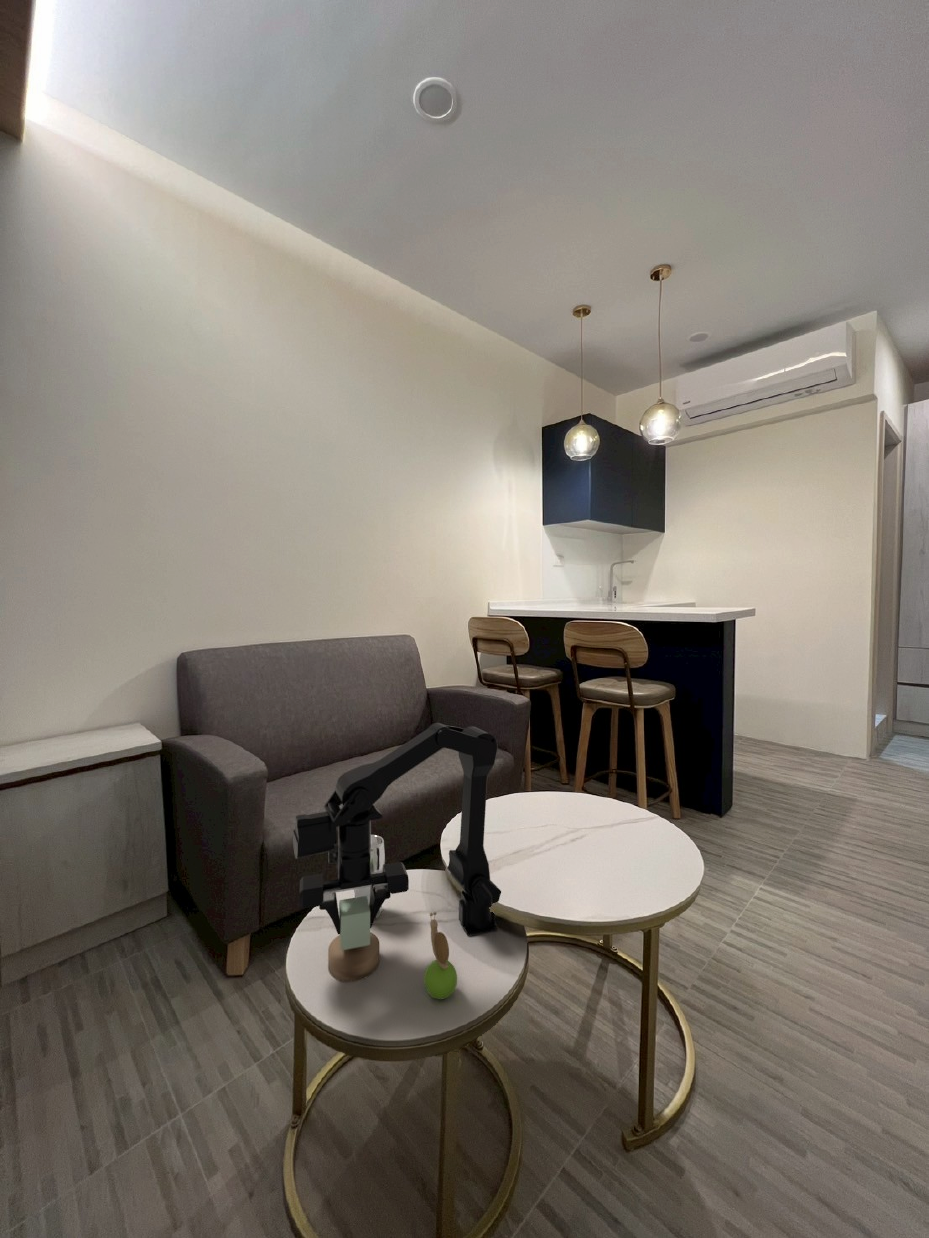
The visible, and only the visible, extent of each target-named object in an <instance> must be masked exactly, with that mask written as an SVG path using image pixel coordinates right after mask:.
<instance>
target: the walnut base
mask: <svg viewBox="0 0 929 1238" xmlns="http://www.w3.org/2000/svg"><path fill="white" fill-rule="evenodd" d="M327 950H328V951H327V954H328V955H327V957H328V958H327V961H328V962H327V964H328V965H327V969H328V972H329V974H330V975H331V977H333V978H334V979H336V980H337V981H341V982H348V983H349V982H357V981H360V980H363V979H364V980H365V978H367V977H369V976H371V975H372V974H373V973H374V972H376V970H377V968H378V967H379V963H380V940H379V938H378V936H377V935H376V934H374V933H373V932H371V931H370V945H367V946H362V947H357V948H352V949H346V950H341V946H340V935H339V934H338V936H336V937H335V938H334V939H332V941H331V942H330V943H329V946H328V948H327Z"/></svg>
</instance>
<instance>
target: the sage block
mask: <svg viewBox="0 0 929 1238" xmlns="http://www.w3.org/2000/svg"><path fill="white" fill-rule="evenodd" d="M338 902H339V903H338V912H339V919H340V934H338V936H339V935H340V946H341V950H346V949H352V948H357V947H362V946H367V945H370V932H371V929H370V908H369V903H368V898H367V896H362V897H356V898H355V897H351V898H344V899H339V900H338Z"/></svg>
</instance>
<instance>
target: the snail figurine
mask: <svg viewBox="0 0 929 1238" xmlns="http://www.w3.org/2000/svg"><path fill="white" fill-rule="evenodd" d="M436 915H437V912H436V911H433V912H430V913H429V916H430V917H433V916H434V919H430V923H429V925H430V939H431V946H432V952H433V955H434V957H435V960H433V961H432V962H431V963H430V964H429V965H428V966H427V968H426V970H425V973H424V977H423V978H424V979H423V981H424V986H425V989H426V991H427V993H428V994H429V995H430V996H431V998H434V999H436V1000H443V999H446V998H448V997H450V996H451V995H452V994H453V993H454V991H455V989H456V987H457V985H458V974H457V970H456V968H455V966H454V965H453V963H452V962H450V961H449V958H450V949H449V948H450V947H449V943H448V939H447V937H446V935H445V934H444V933H443V932H442V931H438V927H439V926H438V925H439V924H438V923H439V922H438V921H437V920H436Z"/></svg>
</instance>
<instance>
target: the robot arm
mask: <svg viewBox="0 0 929 1238" xmlns="http://www.w3.org/2000/svg"><path fill="white" fill-rule="evenodd" d="M498 747H499V746H498V741H497V739H496V738H495V737H494V736H493V735H492V734H490V733H489V732H487V731H484V730H482V729H481V728H478V727H476V726H474V725H473V726H472V725H471V726H467V727H465V728H462V727H460V726H459V727H458V726H453V725H446V724H443V723H441V722H435V723H431V725H429V726H428V728H426V730H424V731H421V733H419V734H417V735H416V736H415V737H413V738H412V739H410V740H408V741H407V742H405V743H404V744H402V745H401V746H399V747H398V748H396V749H394V750H392V751H391V752H389V753H388V754H386V755H385V756H383V757H382V758H380V759H378V760H377V761H375V762H371V763H366V764H362V765H359V766H357V767H355V768H353V769H350V770H348V771H346V772H343V774H341V775H340V776H339V777H338V779H337V781H336V785H335V789H334V791H333V792H332V794H331V796H330V797H329V799H328V800H327V801H326V803H325V804H324V806H323V808H324V810H325V811H321V812H317V813H316V812H315V813H310V814H306V813H305V814H297V815H296V816H295V822H294V827H293V830H292V846H293V852H294V854H293V855H294V858H295V859H296V860H298V859H302V858H307V857H311V856H317V855H321V854H327V855H328V860H327V861H328V864H329V865H333V864H336V875H337V879H331V880H325V881H324V876H323V875H324V874H323V873H316V874H310V875H304V876H302V877H301V878H300V880H299V908H300V909H303V910H304V909H310V908H317V907H319V910H321V911H323V910H325V911H326V913H327V915H328V916H329V917H330V919H331V921H332V924H333V925H334V929H335V930H336V932H337V935H339V934H340V919H339V903H338V899H337V893H340V892H341V893H342V892H347V891H352V890H354V889H360V888H366V887H370V902H369V908H370V930H371V929H372V927H373V925H374V922H375V920H376V919H377V918H376V915H377V913H378V911H379V909H380V908H381V906H382V905H383V904H384V903H385V902H386V900H388V899H390V898H391V895H392V894H393V895H395V894H401V893H405V892H408V891H409V888H410V887H409V883H410V881H409V875H408V872H407V869H406V867H405V864H404V863H403V862H402V861H398V862H391V863H385V864H383V871H376V872H374V873H373V874H371V835H372V821H376V820H380V819H383V818H384V817H383V816H384V815H383V813H382V812H381V811H380V810H379V808H377V807H376V806H375V805H374V804H375V803H377V802H378V801H379V800H380V799H381V797H382V796H383V795H384V794H385V792H386V791H387V789H388V788H389V786H391V785H392V783H394V782H395V781H396V780H398V779H399V778H401V777H402V776H403V777H404V775H405V774H407V773H409V772H410V771H411V770H413V769H414V768H416V767H418V765H419V766H420V764H422V763H423V762H425V761H426V760H428V759H429V758H431V757H433V756H434V755H435V754H437V753H438V752H439V751H441V750H443V749H449V750H452V751H455V752H458V758H459V762H460V765H461V769H462V771H463V780H462V799H461V801H462V802H461V817H460V818H461V819H460V832H459V833H460V834H459V844H458V845H457V847H456V848H455V849H450V850H448V858H449V861H448V866H447V870H448V871H449V873H450V876H451V878H452V879H453V880H454V881H455V883H457V885H458V886H459V888H460V889H462V890H461V899H459V900H458V921H459V923H460V926H461V927H462V928H463V929H464V931H465V934H466V935H467V936H475V935H480V934H483V933H488V932H495V931H498V930H499V926H498V924H497V922H496V913H495V914H494V913H493V912H490V909H489V907H491V906H492V904H493V903H495V904H496V903H499V901H500V897H501V894H502V890H501V889H500V888H499V887H498V886H497V885H496V884H495V883H494V882H493V881H492V880H491V872H490V864H489V861H488V858H487V854H486V851H485V848H484V843H485V842H484V841H485V825H486V824H485V822H486V809H487V808H486V806H487V790H488V777H489V774H490V772H491V771H492V769H493V767H494V765H495V764H496V759H497V754H498ZM340 806H342V807H340ZM337 833H338V834H337ZM382 907H383V906H382ZM375 918H376V919H375Z"/></svg>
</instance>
